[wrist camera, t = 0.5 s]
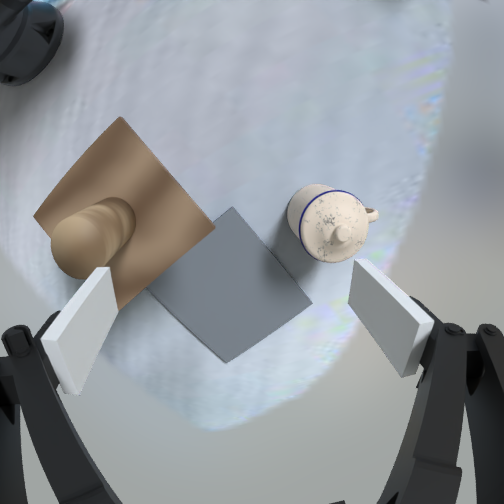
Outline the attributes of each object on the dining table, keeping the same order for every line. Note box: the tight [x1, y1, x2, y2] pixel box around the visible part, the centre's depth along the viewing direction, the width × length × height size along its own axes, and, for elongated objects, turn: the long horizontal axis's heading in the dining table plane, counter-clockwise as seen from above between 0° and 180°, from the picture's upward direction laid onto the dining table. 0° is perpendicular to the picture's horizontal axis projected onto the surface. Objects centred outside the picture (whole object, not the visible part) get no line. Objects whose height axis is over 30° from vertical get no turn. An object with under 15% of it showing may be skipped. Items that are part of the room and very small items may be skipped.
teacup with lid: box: [287, 184, 378, 263], centre depth 39 cm, size 12×9×12 cm
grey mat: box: [146, 206, 313, 363], centre depth 47 cm, size 20×18×1 cm
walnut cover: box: [33, 117, 216, 311], centre depth 25 cm, size 15×15×10 cm
